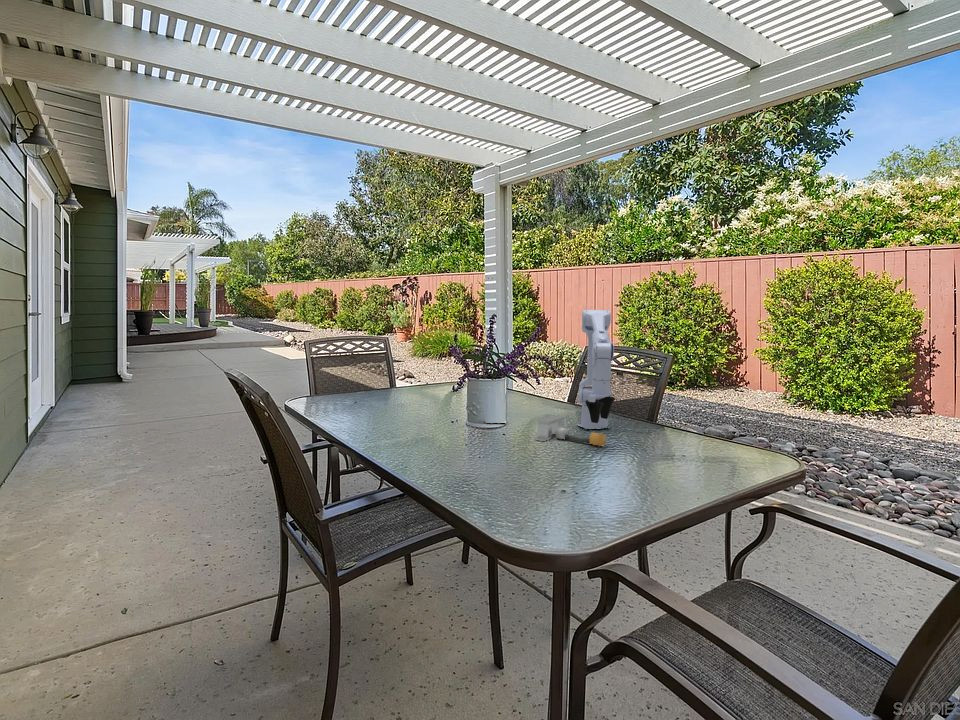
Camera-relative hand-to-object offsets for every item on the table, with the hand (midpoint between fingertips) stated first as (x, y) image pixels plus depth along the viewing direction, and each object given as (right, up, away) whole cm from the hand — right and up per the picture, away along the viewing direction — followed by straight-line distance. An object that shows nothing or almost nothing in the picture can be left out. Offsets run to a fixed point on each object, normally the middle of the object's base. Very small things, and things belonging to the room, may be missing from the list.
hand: (599, 420), depth 180 cm
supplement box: (-33, -5, +31) cm, 46 cm away
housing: (-14, -7, +12) cm, 20 cm away
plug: (-6, -8, +5) cm, 11 cm away
